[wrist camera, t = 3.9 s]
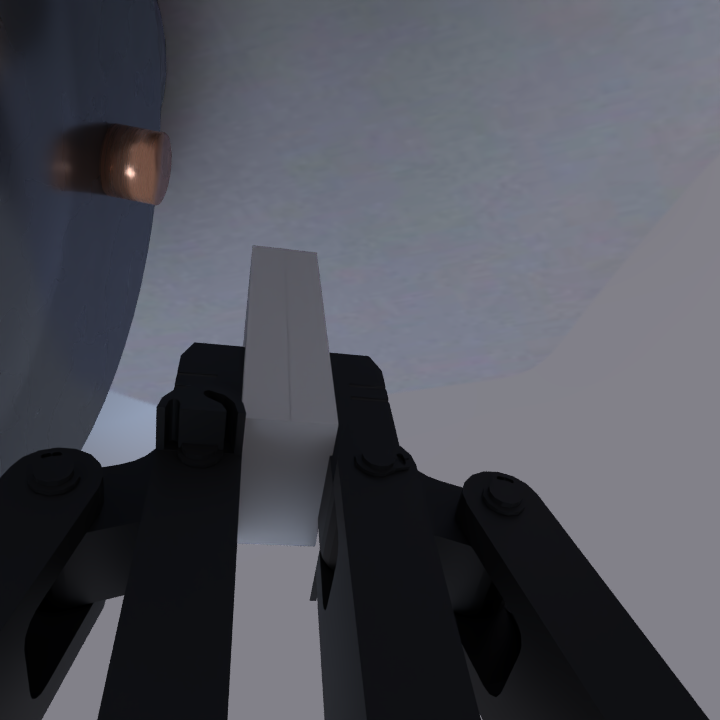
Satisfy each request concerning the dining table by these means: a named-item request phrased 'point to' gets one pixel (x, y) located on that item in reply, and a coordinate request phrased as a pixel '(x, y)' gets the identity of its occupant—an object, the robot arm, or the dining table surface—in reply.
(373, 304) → the dining table surface
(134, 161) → the pot lid
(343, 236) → the dining table surface
